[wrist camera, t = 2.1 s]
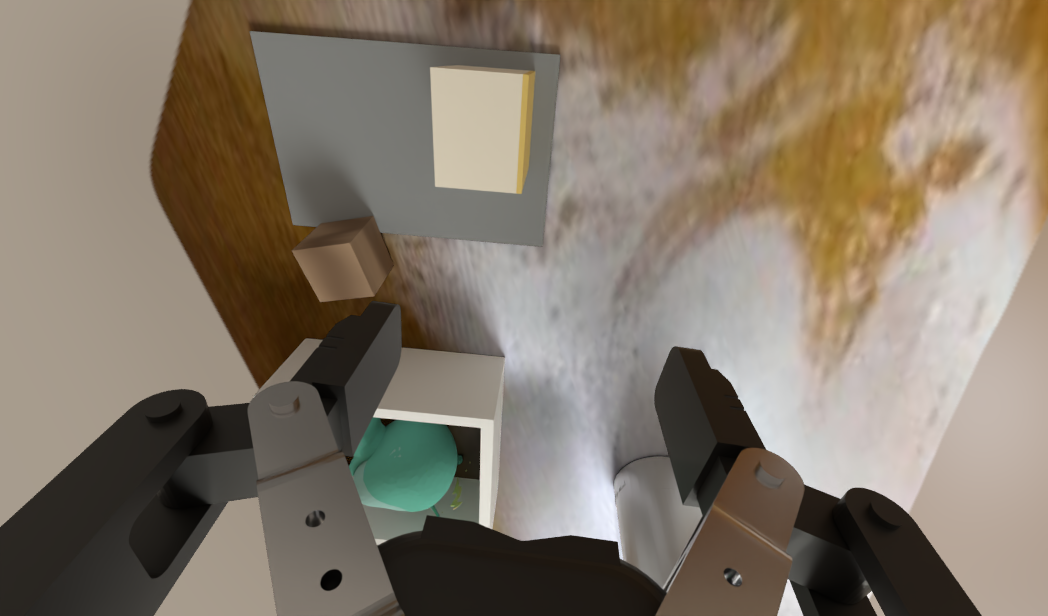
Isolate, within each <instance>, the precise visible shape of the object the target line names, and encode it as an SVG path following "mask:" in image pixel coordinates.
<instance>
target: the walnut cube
mask: <svg viewBox="0 0 1048 616" xmlns="http://www.w3.org/2000/svg"><path fill="white" fill-rule="evenodd" d="M292 252H293V254H294V256H295V258H296V259H297V261H298V263H299V265H300V267H301V268H302V270H303V272H304V274H305V276H306V277H307V279H308V281H309V283H310V285H311V286H312V288H313V290H314V292H315V294H316V295H317V297H318V299H319V301H320V302H326V301H335V300H345V299H354V298H363V297H372V296H375V294H376V293H377V291H378V290H379V288H380V287H381V285H382V283H383V282H384V280H385V279H386V277H387V275H388V274H389V272H390V271H391V269H392V268H393V266H394V265H393V263H392V260H391V258H390V255H389V253H388V250H387V248H386V246H385V243H384V241H383V238H382V236H381V233H380V231H379V228H378V226H377V224H376V221H375V219H374V216H369V217H362V218H355V219H348V220H341V221H334V222H327V223H321V224H320V225H319V226H318V227H317V228H315V229H314V230H313V231H312V232H311V233H310V234H309V235H308V236H307V237H306V238H305V239H304V240H303V241H302V242H300V243H299V244H298V245H297V246H296V247H295V248H294V249H293V250H292Z"/></svg>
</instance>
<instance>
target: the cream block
mask: <svg viewBox="0 0 1048 616" xmlns="http://www.w3.org/2000/svg"><path fill="white" fill-rule="evenodd" d="M430 78H431V101H432V125H433V149H434V173H435V187H445V188H456V189H468V190H480V191H492V192H504V193H515V194H522V190H523V186H524V183H525V179H526V175H527V172H528V168H529V156H530V142H531V127H532V113H533V99H534V84H535V71H528V70H515V69H502V68H489V67H476V66H463V65H453V66H439V67H430Z"/></svg>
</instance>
